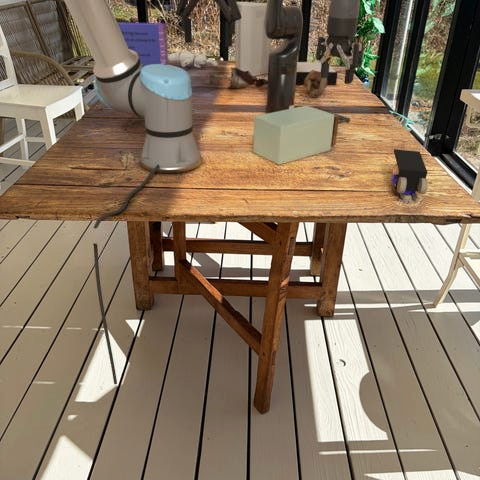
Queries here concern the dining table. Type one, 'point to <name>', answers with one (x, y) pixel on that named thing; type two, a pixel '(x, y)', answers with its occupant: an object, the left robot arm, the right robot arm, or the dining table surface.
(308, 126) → the pale green rectangular box
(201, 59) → the toy
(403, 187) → the figurine character
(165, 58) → the cereal box
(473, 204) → the dining table surface
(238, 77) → the figurine
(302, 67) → the disc drive
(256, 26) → the tall white carton
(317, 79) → the anatomical model
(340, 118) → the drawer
